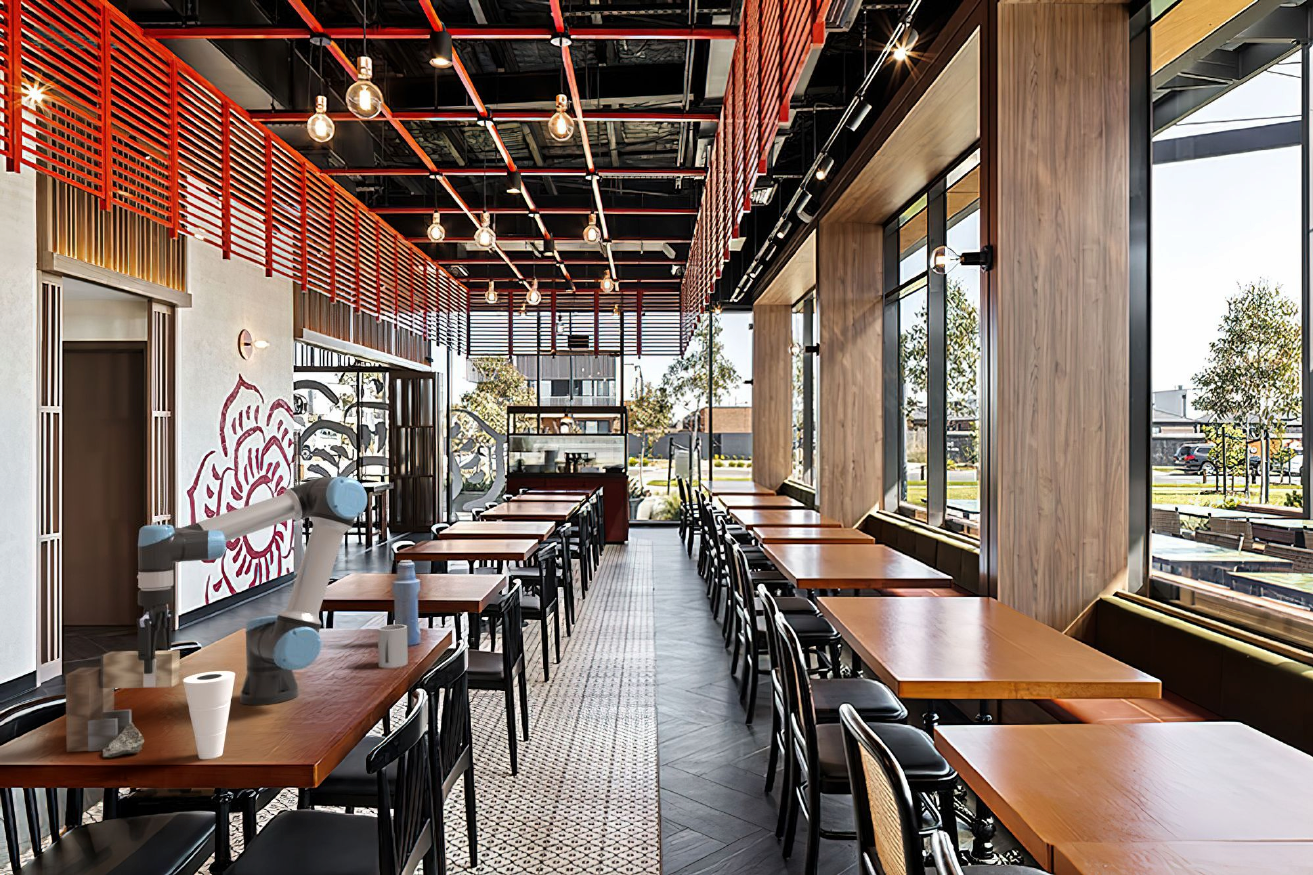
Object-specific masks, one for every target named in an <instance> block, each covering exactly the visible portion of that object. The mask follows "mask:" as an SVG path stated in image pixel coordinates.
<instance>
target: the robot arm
mask: <svg viewBox="0 0 1313 875" xmlns="http://www.w3.org/2000/svg"><path fill="white" fill-rule="evenodd" d="M367 504H368V495H367V492H366V490H365V487H364V486H363V485H362V483H360V481H358V480H356V479H355V478H351V477H346V476H330V477H329V476H322V477H317V478H314V479H312V480H309V481H306V482H303V483H301V484H298V485H296V486H292V487H290V488H286V489H285V490H284V491H283V494H280V495H277V496H273V497H270V498H267V499H265V500H261V501H258V502H255V503H253V504H249V505H246V506H244V507H243V506H242V507H240V508H237V509H234V510H231V511H228V512H224V513H221V514H220V515H219V514H218V515H216V516H213V517H210V518H207V519H203V520H201V521H198V522H194V523H192V524H188V525H186V526H182V527H174V526H173V525H171V524H151V525H148V524H147V525H144V526H142V527H141V528H139V531H138V533H139V534H138V541H137V542H138V543H137V547H138V548H137V549H138V550H137V554H138V555H137V556H138V557H137V558H138V559H137V560H138V572H137V573H138V575H137V576H136V578H137V579H138V583H137V584H138V585H137V587H138V588H139V590H138V591H137V604H138V606H140V607H143V612H142V617H141V618H136V626H137V651H138V659H139V660H144V666H143V687H150V688H157V687H156V680H157V659H154V658H155V651H172V636H173V635H172V632H173V631H172V630H173V629H172V627H173V625H172V624H173V615H174V610H173V609H168V605H171V604H172V603H173V602H174V588H172V587H173V586H174V563H181V562H183V563H184V562H195V561H196V562H197V561H211V560H216V559H217V560H219V559H221V558H222V557H223V556H224V554H225V553H226V549H227V542H230V541H233V540H234V539H238V538H240V537H245V536H247V535H250V534H253V533H255V532H258V531H261V530H264V529H267V528H270V527H272V526H276V525H278V524H281V523H284V522H288V521H290V520H294V521H298V522H299V521H300V520H303V519H307V518H310V520H311V522H312V529H311V531H310V535H309V537H308V541H307V545H306V546H305V550H304V553H303V556H302V559H301V562H300V565H299V567H298V568H299V569H298V571H297V575H296V578H295V580H294V583H293V587H292V589H291V592H290V596H289V599H288V602H287V604H286V605H287V606H286V608H285V609H284V610H282V611H281V612H279V613H278V614H276V615H268V616H262V617H260V616H259V617H256V618H251V619H249V620H248V621H247V622H246V624H245V625H246V626H245V647H246V648H245V649H246V651H245V652H246V674H245V678H244V681H243V684H242V687H241V690H240V694H239V701H240V703H241V704H244V705H249V706H251V705H252V706H261V705H262V706H263V705H264V706H265V705H271V704H277V703H282V702H286V701H290V700H292V699H295V698H297V697H298V696H299V685H298V682H297V679H296V676H295V674H294V671H298V670H303V669H305V668H307V667H309V666H310V665H312V664H313V663H314V662H315V661H317V658H318V657H319V655H320V653H321V651H322V646H323V645H322V644H323V643H322V638H321V636H320V633H319V632H320V631H321V626H322V622H321V620H320V618H319V613H320V610H321V607H322V604H323V600H324V597H325V594H326V592H327V589H328V585H329V582H330V580H331V575H332V574H333V573H332V572H333V569H334V567H335V563H336V560H337V558H338V554H339V551H340V547H341V546H342V541H343V538H344V534H346V532H348V531H350V530H352V528H353V525H354V522H355V519H356V518H358V517H360V516H361V515H363V513H364V511H365V509H366V507H367Z"/></svg>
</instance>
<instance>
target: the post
mask: <svg viewBox="0 0 1313 875" xmlns="http://www.w3.org/2000/svg"><path fill="white" fill-rule="evenodd" d="M100 677H101V666H91V667H89V666H88V667H79V668H77V669H76V670H74V671H71V672H69V673H67V674H66V675H65V715H66V716H65V717H66V718H65V723H66V726H65V728H66V732H65V734H66V735H65V736H66V752H67V753H68V752H69V753H70V752H71V753H73V752H85V751H88V752H98V751H103V750H104V749H105V748H106V747H107V746H108V745H109V744H110V742H112V741H113V740H115V739H116V738H117V737H118V736H119V735H120V734H121V733H122V731H123V730H124V729H125V727H126V726H127V725H128V724H129V723H131V722H132V709H115V688H103V689H100Z"/></svg>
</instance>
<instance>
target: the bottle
mask: <svg viewBox="0 0 1313 875" xmlns="http://www.w3.org/2000/svg"><path fill="white" fill-rule="evenodd" d="M415 567H416V566H415V562H413V561H412V560H411V559H408V560H407V559H405V560H403V559H402V560H400V561H399V563H397V572H396V573H397V574H396V579H394V580H392V582H391V583H392V586H391V588H392V590H391V591H392V596H393V600H394V625H406V626H407V647H413V646H417V645H419V644H421V641H422V640H421V639H422V638H421V637H422V636H421V634H422V633H421V629H420V627H419V626H420V625H419V594H420V592H421V580H420V579H419V578H416V572H415Z"/></svg>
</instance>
